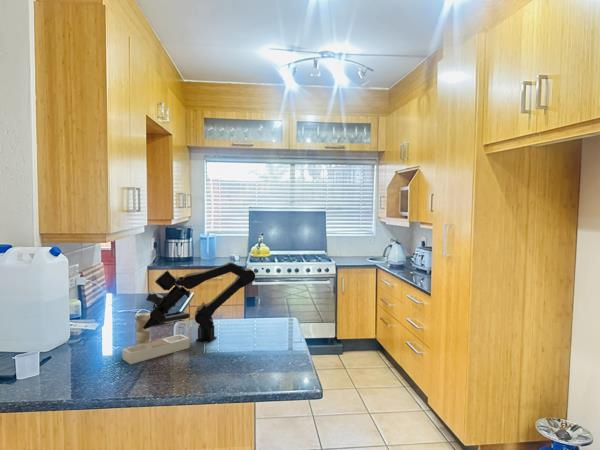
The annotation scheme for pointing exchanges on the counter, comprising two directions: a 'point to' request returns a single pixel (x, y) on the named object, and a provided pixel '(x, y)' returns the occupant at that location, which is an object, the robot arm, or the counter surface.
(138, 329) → the tan carved block
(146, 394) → the counter surface
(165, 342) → the rack
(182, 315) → the door handle
